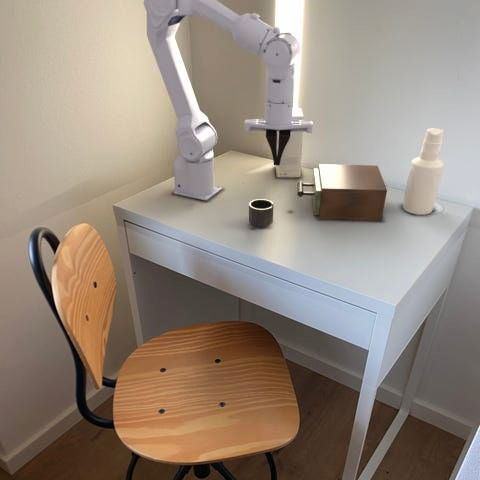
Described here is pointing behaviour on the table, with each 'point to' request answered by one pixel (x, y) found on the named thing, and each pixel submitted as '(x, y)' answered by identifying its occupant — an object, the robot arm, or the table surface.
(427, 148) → the spray bottle
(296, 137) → the cosmetic box
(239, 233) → the table surface
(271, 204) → the dark grey cup
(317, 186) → the drawer
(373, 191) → the cabinet
